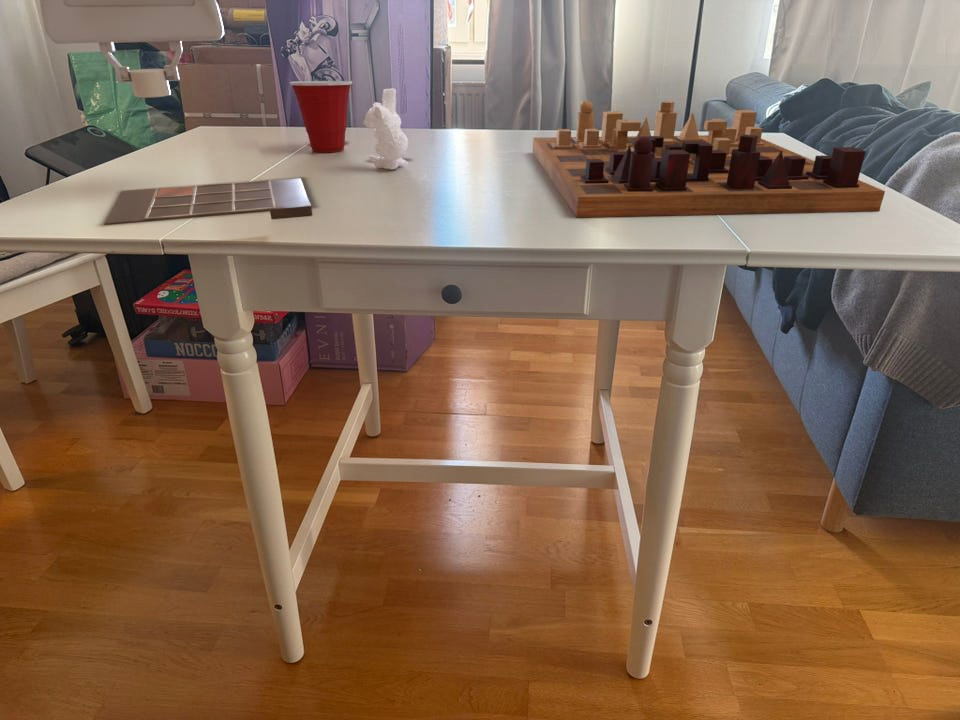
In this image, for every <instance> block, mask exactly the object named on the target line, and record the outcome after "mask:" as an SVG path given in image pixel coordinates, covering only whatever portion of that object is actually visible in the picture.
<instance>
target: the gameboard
mask: <svg viewBox="0 0 960 720" xmlns="http://www.w3.org/2000/svg"><path fill="white" fill-rule="evenodd" d="M578 109H579V112H577V121H576V122H577V124H576V136H572V130H570V128H558V129H556V136H555V137H554V136H553V137H551V136H550V137H533V138H532V154H533V156H534V158H535V159H536V160H537V161H538V163H539V164H540V166H541V167H542V169H543V170H544V172H545V174H546V175H547V176H548V178H549V179H550V181H551V182H552V184H553V185H554V186H555V188H556V189H557V191H558V192H559V194H560V195H561V197H562V198H563V200H564V201H565V203H566V204H567V205H568V207H569V209H570V210H571V211H572V213H573V215H574V216H575V217H576V218H611V217H612V218H613V217H655V216H656V217H658V216H659V217H661V216H706V215H707V216H709V215H754V214H756V215H757V214H759V215H760V214H802V213H804V214H805V213H807V214H808V213H848V212H852V213H853V212H854V213H855V212H880V211H881V207H882V203H883V200H884V196H885V193H886V190H884V189H881V188H879V187H877V186H874V185H872V184H869V183H867V182H865V181H862V180H861V179H859V178H860V175H861V171H862V168H863V163H864V160H865V156H866V151H865V150H863V149H860V148H857V147H854V146H850V147H849V146H847V147H846V146H845V147H844V146H843V147H842V146H841V147H836V146H835V147H833V149H832V154H831V155H826V154H825V155H815V158H814V160H813V159H811V158H809V157H807V156H804V155H802V154H799V153H796V152H794V151H792V150H789V149H787V148H785V147H783V146H780V145H777V144H776V143H773V142H771V141H768V140H766V139H763V138H762V134H763V128H762V127H759V126H755V125H756V120H757V114H758V112H757V111H755V110H752V109H735V110H734V113H733V118H732V119H733V120H732V126H728V121H727V120H726V119H725V120H724V119H722V118H710V120H708V119H707V120H704V125H703V130H704V131H708V135H707V134H706V135H705V134H704V135H700V134H699V131H698V127H697V123H696V119H695V115H694V111H692V112H691V114H690V116H689V117H688V119H687V121H686V122H685V125H684V126H683V128H682V129H681V132H680V134H679V135H675V132H676V125H677V124H676V123H677V117H678V112H675V111H674V109H675V101H669V100H664V101H661V104H660V110H656V113H655V122H654V129H653V130H654V131H653V135H652V134H651V130H650V125H649V121H648V118H647V116H646V117H645V119H644V121H643V123H642V122H641V121H639V120H628V119H625V118H623V117H624V113H622V112H621V111H620V110H619V111H617V110H616V111H615V110H611V111H609V110H607V111H603V112H602V121H601V135H600V130H599V129H597V128H594V127H595V126H594V124H595V112H593V111H594V104H593V103H592V102H591V101H590V100H583V101H581V103H580V104H579V107H578ZM629 132H637V135H636V136H635V135H634V136H633V135H631V136H628V135H629Z"/></svg>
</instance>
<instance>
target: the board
mask: <svg viewBox="0 0 960 720" xmlns="http://www.w3.org/2000/svg"><path fill="white" fill-rule="evenodd" d="M264 212H269V214H270V219H272V220H273V219H274V220H275V219H285V218H294V217H296V218H297V217H308V216H313V209H312V204H311V202H310V199H309V197H308V194H307V191H306V188H305V186H304V183H303V180H302V178H301V177H295V178H294V177H293V178H281V179H264V180H251V181H250V180H249V181H238V182H223V183H209V184H195V185H181V186H170V187H157V188H156V187H155V188H145V189H143V188H142V189H130V190H122V191H121V193H120V195H119V197H118V199H117V201H116V202H115V203H114V206H113V208H112V209H111V211H110V213H109V215H108V217H106V220H105V221H104V223H103V225H104V226H110V225H111V226H112V225H122V224H135V223H146V222H157V221H168V220H169V221H170V220H181V219H194V218H204V217H205V218H206V217H217V216H227V215H240V214H241V215H242V214H251V213H264Z"/></svg>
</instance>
